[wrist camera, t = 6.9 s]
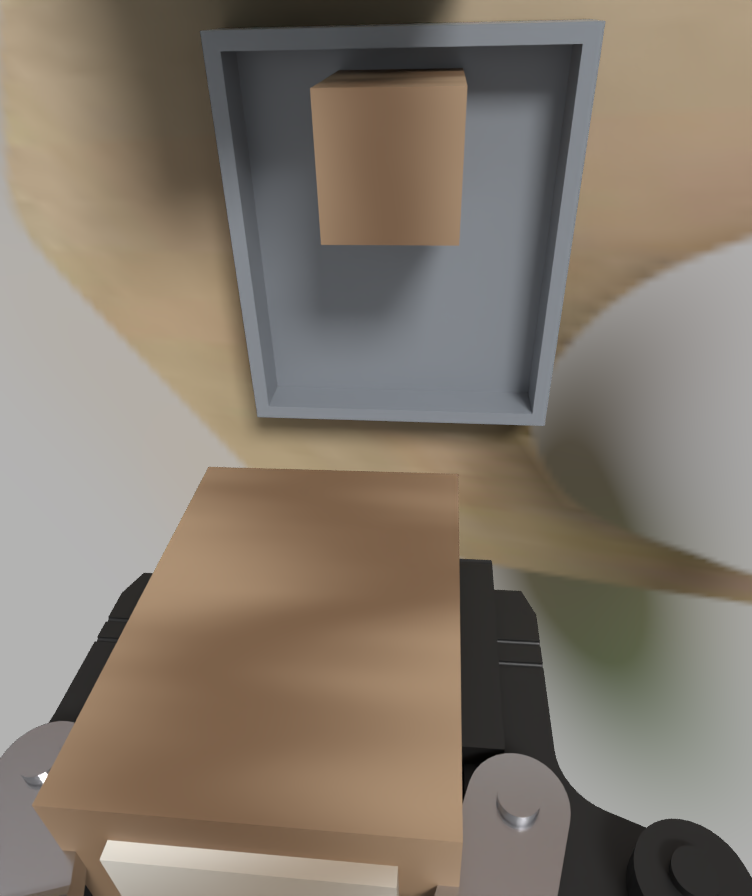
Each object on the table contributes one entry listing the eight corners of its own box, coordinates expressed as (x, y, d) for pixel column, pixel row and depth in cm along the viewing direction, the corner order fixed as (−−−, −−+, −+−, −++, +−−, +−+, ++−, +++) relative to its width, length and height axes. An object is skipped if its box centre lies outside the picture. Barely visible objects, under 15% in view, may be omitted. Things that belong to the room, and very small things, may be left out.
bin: (591, 19, 22) (605, 21, 20) (538, 397, 31) (544, 425, 29) (221, 28, 24) (199, 31, 21) (269, 390, 32) (257, 417, 30)
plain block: (463, 67, 23) (467, 85, 18) (457, 198, 26) (459, 245, 21) (338, 70, 23) (309, 88, 18) (345, 198, 26) (321, 244, 21)
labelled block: (458, 473, 11) (463, 865, 6) (450, 641, 14) (449, 1014, 9) (208, 467, 12) (20, 826, 7) (246, 630, 14) (132, 978, 9)
